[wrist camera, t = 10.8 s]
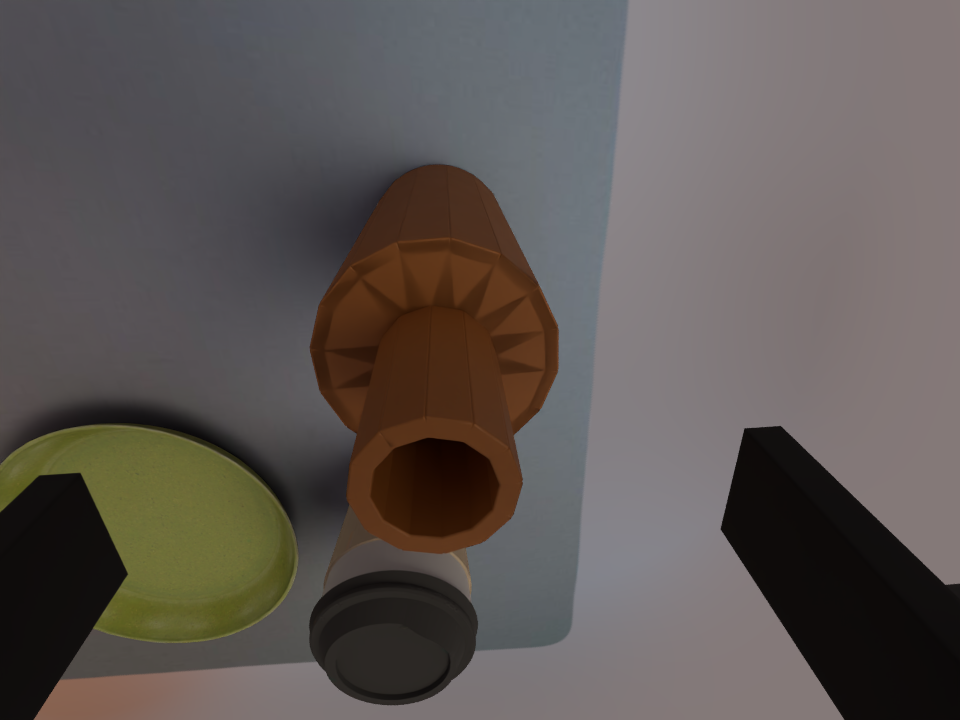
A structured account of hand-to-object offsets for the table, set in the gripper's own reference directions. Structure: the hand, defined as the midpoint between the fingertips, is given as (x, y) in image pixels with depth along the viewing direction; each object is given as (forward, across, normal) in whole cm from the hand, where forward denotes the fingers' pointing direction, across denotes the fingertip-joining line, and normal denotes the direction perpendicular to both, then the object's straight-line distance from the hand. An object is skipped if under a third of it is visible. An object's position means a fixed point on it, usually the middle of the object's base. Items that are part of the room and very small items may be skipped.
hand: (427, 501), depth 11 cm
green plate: (+24, -22, -20) cm, 38 cm away
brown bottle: (+23, 0, 0) cm, 23 cm away
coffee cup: (+23, -3, -18) cm, 30 cm away
